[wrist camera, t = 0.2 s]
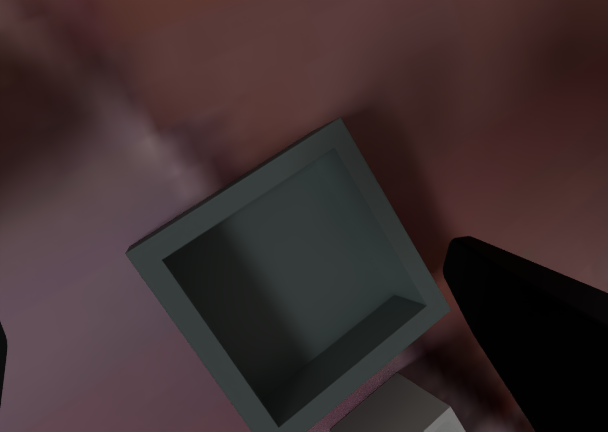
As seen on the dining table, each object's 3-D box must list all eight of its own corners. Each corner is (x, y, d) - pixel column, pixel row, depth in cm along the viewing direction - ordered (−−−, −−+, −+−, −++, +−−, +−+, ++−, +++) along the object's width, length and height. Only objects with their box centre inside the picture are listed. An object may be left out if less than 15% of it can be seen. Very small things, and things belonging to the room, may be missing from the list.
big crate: (408, 296, 27) (450, 309, 23) (252, 421, 24) (272, 460, 20) (311, 131, 25) (340, 117, 21) (129, 246, 22) (125, 253, 18)
